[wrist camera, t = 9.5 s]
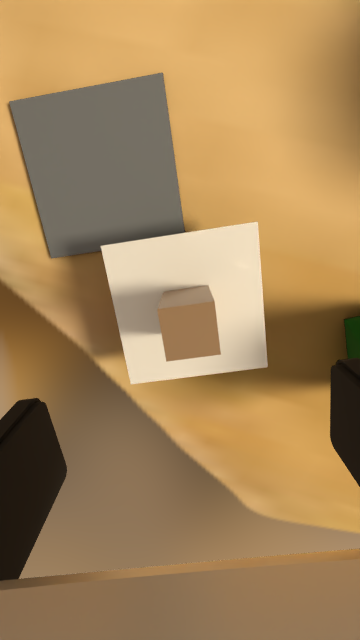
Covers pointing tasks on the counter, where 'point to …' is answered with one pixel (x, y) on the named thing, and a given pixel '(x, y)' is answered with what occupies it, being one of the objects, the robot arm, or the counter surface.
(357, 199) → the counter surface
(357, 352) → the milk carton
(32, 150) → the mat
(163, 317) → the lid
